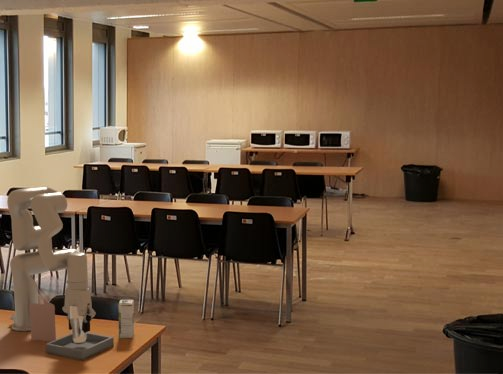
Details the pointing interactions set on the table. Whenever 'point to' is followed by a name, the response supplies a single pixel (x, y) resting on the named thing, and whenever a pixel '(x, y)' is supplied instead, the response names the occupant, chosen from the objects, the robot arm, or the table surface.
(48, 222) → the robot arm
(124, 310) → the syrup box
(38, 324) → the greeting card
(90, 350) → the tray
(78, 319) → the beer glass
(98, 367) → the table surface
